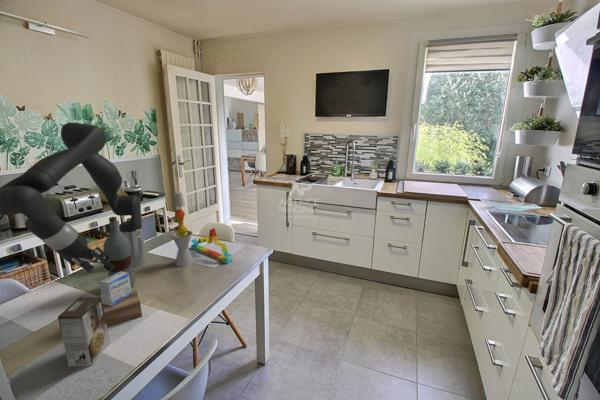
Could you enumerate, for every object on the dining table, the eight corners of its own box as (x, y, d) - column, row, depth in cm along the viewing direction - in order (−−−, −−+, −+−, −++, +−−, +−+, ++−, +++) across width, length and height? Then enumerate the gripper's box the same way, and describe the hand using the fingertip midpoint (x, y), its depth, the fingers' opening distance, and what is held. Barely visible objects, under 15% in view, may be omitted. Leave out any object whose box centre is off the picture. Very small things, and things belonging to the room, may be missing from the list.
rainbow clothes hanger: (190, 248, 156) (188, 222, 153) (195, 246, 159) (194, 221, 155) (227, 264, 139) (225, 235, 135) (232, 262, 142) (231, 233, 138)
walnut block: (99, 311, 103) (96, 296, 101) (137, 300, 109) (135, 286, 108) (100, 330, 93) (97, 314, 92) (142, 317, 100) (140, 302, 99)
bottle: (141, 284, 120) (131, 216, 112) (119, 295, 112) (108, 222, 104) (126, 279, 124) (116, 212, 116) (104, 289, 115) (92, 219, 108)
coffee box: (88, 343, 87) (79, 296, 83) (110, 342, 88) (102, 295, 84) (67, 367, 79) (56, 316, 75) (92, 366, 79) (82, 315, 75)
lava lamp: (170, 263, 138) (163, 193, 130) (186, 256, 146) (181, 189, 137) (181, 268, 134) (175, 195, 125) (198, 261, 141) (193, 192, 132)
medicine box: (112, 307, 96) (108, 283, 94) (102, 304, 97) (98, 281, 95) (132, 294, 103) (129, 272, 101) (122, 292, 104) (119, 270, 102)
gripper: (91, 228, 86) (125, 259, 97) (55, 231, 90) (91, 260, 101) (74, 249, 81) (112, 279, 92) (37, 250, 85) (77, 279, 95)
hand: (101, 269), depth 96 cm, fingers open, 8 cm apart
